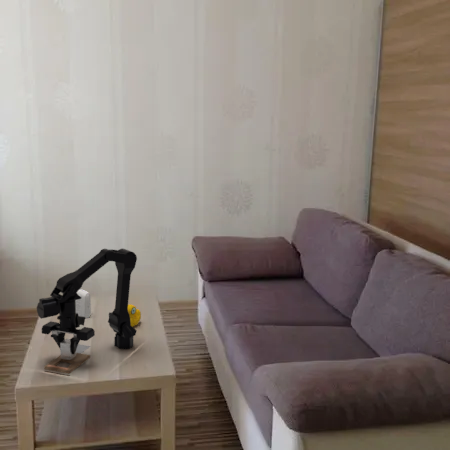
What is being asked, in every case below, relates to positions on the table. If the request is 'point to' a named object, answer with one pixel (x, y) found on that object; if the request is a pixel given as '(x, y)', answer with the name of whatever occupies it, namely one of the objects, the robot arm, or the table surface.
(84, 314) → the photo printer
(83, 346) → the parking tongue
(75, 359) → the board
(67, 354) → the block
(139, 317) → the duckling
